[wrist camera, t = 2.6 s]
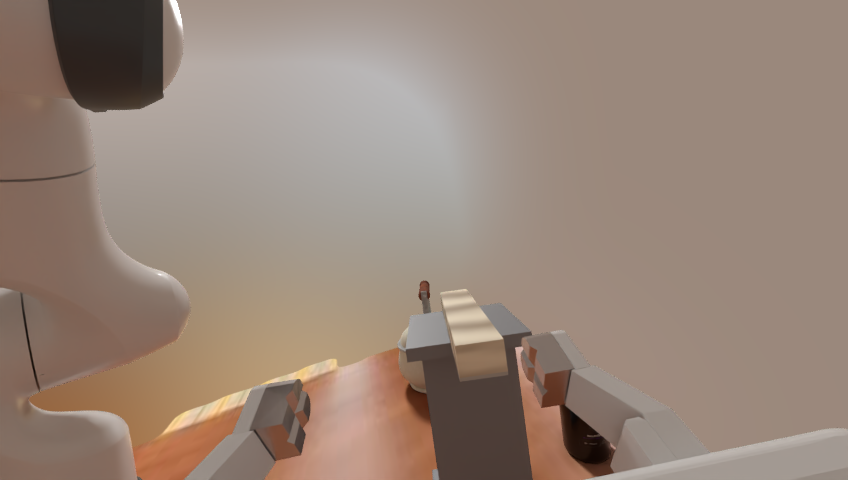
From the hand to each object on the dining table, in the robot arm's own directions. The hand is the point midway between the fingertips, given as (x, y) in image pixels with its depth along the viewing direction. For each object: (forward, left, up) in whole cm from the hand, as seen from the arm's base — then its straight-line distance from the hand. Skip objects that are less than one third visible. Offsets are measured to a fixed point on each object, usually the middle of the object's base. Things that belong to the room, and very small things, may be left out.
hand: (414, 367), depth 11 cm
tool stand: (+17, +23, -34) cm, 44 cm away
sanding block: (+15, +19, -8) cm, 25 cm away
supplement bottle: (+37, +22, -34) cm, 55 cm away
